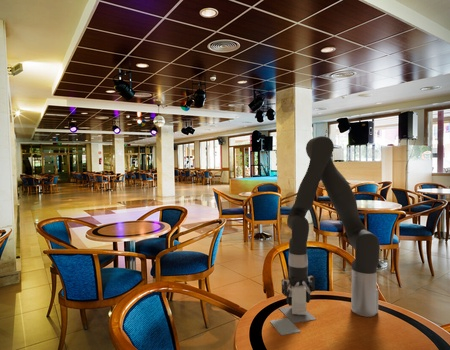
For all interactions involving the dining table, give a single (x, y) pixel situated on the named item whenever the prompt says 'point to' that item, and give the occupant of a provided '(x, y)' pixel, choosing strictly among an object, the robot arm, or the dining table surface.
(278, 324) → the pad
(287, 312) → the tile
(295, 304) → the small box
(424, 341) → the dining table surface
